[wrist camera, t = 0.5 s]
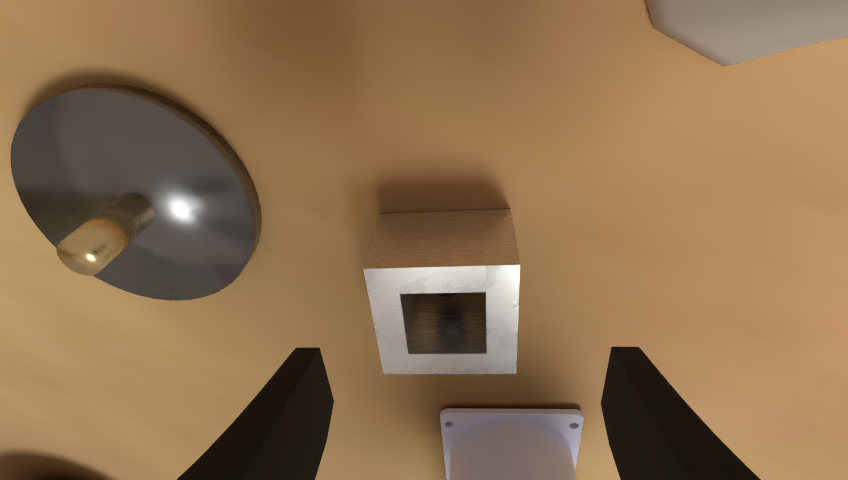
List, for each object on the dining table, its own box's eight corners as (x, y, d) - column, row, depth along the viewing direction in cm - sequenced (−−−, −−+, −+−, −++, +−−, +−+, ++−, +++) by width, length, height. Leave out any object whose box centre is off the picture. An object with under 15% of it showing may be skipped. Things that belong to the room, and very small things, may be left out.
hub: (285, 285, 23) (250, 353, 19) (96, 289, 24) (28, 355, 20) (220, 75, 18) (154, 114, 14) (-20, 92, 19) (-142, 132, 15)
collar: (508, 309, 23) (516, 373, 20) (394, 311, 23) (383, 374, 20) (510, 208, 20) (519, 264, 16) (379, 213, 20) (363, 268, 17)
